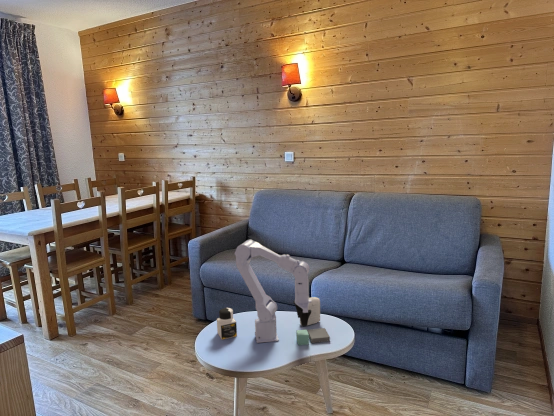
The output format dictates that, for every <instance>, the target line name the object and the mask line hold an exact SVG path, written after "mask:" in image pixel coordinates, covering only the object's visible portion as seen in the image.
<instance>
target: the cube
mask: <svg viewBox="0 0 554 416" xmlns="http://www.w3.org/2000/svg"><path fill="white" fill-rule="evenodd" d="M307 330H308V329H299V330H296V332H295V333H296V342H297V345H298V346H308V345H310V338H309V334H308V332H307Z"/></svg>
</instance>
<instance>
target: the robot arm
mask: <svg viewBox="0 0 554 416" xmlns="http://www.w3.org/2000/svg"><path fill="white" fill-rule="evenodd" d="M234 256H235V263H236V265H235V266H236V268H237V270H238V272H239V273H240V276H241V277H242V279H243V281H244V284H245V285H246V286H247V288H248V290H249V292H250V294H251V296H252V297H253V299H254V301H255V310H256V312H257V315H256V316H257V318H255V319H254V330H255V331H254V336H255V341H256V343H257V344H260V343H271V342H279V336H278V333H277V315H276V312H277V311H278V304H277V302H275V301H274V300H273V299H272V297H271V296H270V295H267V294H266V292H265V290H264V287H263V286H262V285H261V282H260V281H259V278H258V277H257V275H256V274H255V271H254V269H253V268H252V265H251V264H250V262H251V260H252V258H255V257H262V258H265V259H267V260H268V261H272V262H274V263H276V264H277V267H278V268H281V269H282V270H284V271H287V272H289V273H290V274H292V275H293V277H294V298H295V299H294V300H293V304H294V306H295V310H296V314H297V318H298V319H299V321H300V320H301V324H300V326H302V327H307V326H308V325H307V323H308V319H309V316H310V314H311V310H308V305H309V303H311V302H312V301H311V299H309V298H310V295H309V294H310V293H309V290H310V289H309V288H310V287H309V285H310V284H309V282H310V281H309V274H308V273H309V272H310V270H311V269H310V265H309V264H308V262H306V261H305V260H299V259H296V258H293V257H291V255H290V254H285V253H284V254H282V255H280V254H278V253H276V252H274V251H273V250H271V249H270V248H268V247H266V246H264V245H262V244H261V243H260V242H258V241H255V240H253V239H247V240H245V241H244V242H243V243H241V244H239V245H238V246H237V247H236V248H235V251H234Z"/></svg>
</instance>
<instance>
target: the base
mask: <svg viewBox="0 0 554 416" xmlns="http://www.w3.org/2000/svg"><path fill="white" fill-rule="evenodd" d="M306 330H307V332H308V334H309V342H310V343H311V344H313V343H316V344H317V343H325V342H330V341H331V337H330V335H329V333H328V331H327V329H326V328H325V327H324V328H322V327H321V328H313V329H306Z"/></svg>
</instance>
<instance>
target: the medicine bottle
mask: <svg viewBox="0 0 554 416" xmlns="http://www.w3.org/2000/svg"><path fill="white" fill-rule="evenodd" d="M218 314H219V315H218V316H219V317H218V318H216V331H217V334H218V336H219V337H220V339H221V340H222V341H223V340H228V339H231V338H236V337H237V336H238V331H237V329H238V328H237V321H236V319H235V318H234V310H233V308H230V307H223V308H220V310H218Z"/></svg>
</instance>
